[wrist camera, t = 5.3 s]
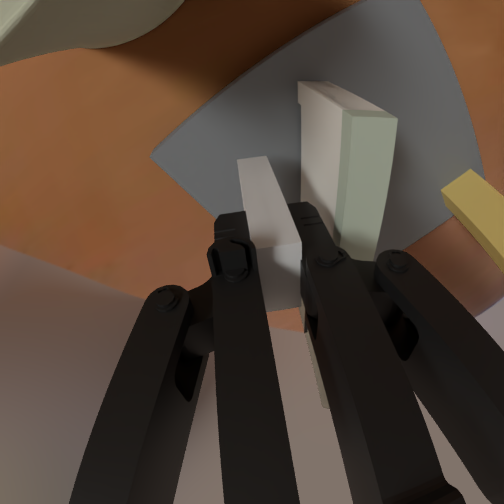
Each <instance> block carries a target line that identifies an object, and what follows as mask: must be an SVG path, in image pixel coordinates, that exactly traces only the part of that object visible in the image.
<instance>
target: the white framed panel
mask: <svg viewBox="0 0 504 504" xmlns="http://www.w3.org/2000/svg"><path fill="white" fill-rule="evenodd" d="M298 103H299V104H300V105H301V202H305V201H307V202H309V203H310V204H312V205H313V206H314V207H316V209H317V211H318V213H319V214H320V217H321V218H322V220H323V223H324V224H325V226H326V228H327V230H328V231H329V233H330V235H331V237H332V239H333V241H334V243H335V245H336V246H338V247H340V248H342V249H344V250H345V251H346V252H347V253H348V254H349V255H350V257H351V258H352V259H355V260H362V261H373V259H374V255H375V251H376V246H377V242H378V238H379V233H380V228H381V224H382V219H383V214H384V209H385V204H386V198H387V193H388V187H389V181H390V175H391V168H392V162H393V155H394V147H395V140H396V131H397V122H398V118H396V117H395V116H393V115H391V114H390V113H388V112H386V111H384V110H383V109H381V108H379V107H377V106H375V105H374V104H372V103H370V102H368V101H366V100H364V99H362V98H360V97H359V96H357V95H355V94H353V93H351V92H349V91H347V90H345V89H343V88H341V87H339V86H336V85H334V84H332V83H330V82H328V81H298Z"/></svg>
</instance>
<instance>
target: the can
mask: <svg viewBox="0 0 504 504" xmlns="http://www.w3.org/2000/svg"><path fill="white" fill-rule="evenodd" d="M184 1H185V0H0V66H3V65H6V64H9V63H13V62H16V61H20V60H23V59H27V58H31V57H35V56H39V55H43V54H47V53H52V52H57V51H62V50H68V49H74V48H106V47H111V46H116V45H119V44H123V43H126V42H129V41H131V40H134V39H136V38H138V37H140V36H142V35H144V34H146V33H148V32H149V31H151V30H152V29H154V28H156V27H157V26H158V25H160V24H161V23H162V22H164V21H165V20H166V19H167V18H169V17H170V16H171V15H172V14H173V13H174V12H175V11H176V10H177V9H178V8H179V7H180V6H181V4H182V3H183V2H184Z"/></svg>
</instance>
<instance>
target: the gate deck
mask: <svg viewBox="0 0 504 504" xmlns="http://www.w3.org/2000/svg"><path fill="white" fill-rule="evenodd" d="M298 81H328V82H330V83H332V84H334V85H336V86H339V87H341V88H343V89H345V90H347V91H349V92H351V93H353V94H355V95H357V96H359V97H360V98H362V99H364V100H366V101H368V102H370V103H372V104H374V105H375V106H377V107H379V108H381V109H383V110H384V111H386V112H388V113H390V114H391V115H393V116H395V117H396V118H398V122H397V131H396V140H395V147H394V155H393V162H392V168H391V175H390V181H389V187H388V193H387V198H386V204H385V209H384V214H383V219H382V224H381V228H380V233H379V238H378V242H377V246H376V251H375V255H374V259H373V261H375V262H376V259H377V257H378V255H379V254H380V253H382V252H383V251H386V250H390V249H394V250H401V251H402V250H404V249H405V248H407V247H408V246H410V245H411V244H413V243H414V242H416V241H417V240H419V239H420V238H422V237H423V236H425V235H426V234H428V233H429V232H431V231H432V230H434V229H435V228H436V227H438V226H439V225H441V224H442V223H444V222H445V221H446V220H448V219H449V218H451V217H452V216H453V215H455V216H456V217H457V219H458V220H459V221H460V222H461V223H462V224H463V225H464V226H465V227H466V229H467V230H468V231H469V232H470V233H471V234H472V235H473V236H474V238H475V239H476V240H477V241H478V242H479V244H480V245H481V246H482V247H483V248H484V250H485V251H486V252H487V253H488V254H489V256H490V257H491V258H492V259H493V261H494V262H495V263H496V265H497V266H498V267H499V268H500V270H501V271H502V272H503V274H504V196H502V195H501V194H500V193H499V192H498V191H497V190H496V189H495V188H493V187H492V186H491V185H490V184H489V183H488V182H486V181H485V176H484V171H483V166H482V161H481V157H480V152H479V148H478V144H477V140H476V136H475V133H474V129H473V125H472V122H471V118H470V115H469V112H468V109H467V106H466V103H465V100H464V97H463V94H462V91H461V88H460V85H459V83H458V80H457V77H456V75H455V72H454V70H453V67H452V65H451V62H450V60H449V58H448V55H447V53H446V51H445V49H444V46H443V44H442V42H441V40H440V38H439V36H438V34H437V32H436V30H435V28H434V26H433V24H432V22H431V20H430V18H429V16H428V14H427V12H426V11H425V9H424V7H423V5H422V3H421V2H420V0H361V1H359V2H357V3H355V4H353V5H351V6H349V7H347V8H345V9H343V10H342V11H340V12H338V13H336V14H334V15H332V16H331V17H329V18H327V19H325V20H324V21H322V22H320V23H318V24H317V25H315V26H313V27H312V28H310V29H308V30H307V31H305V32H303V33H302V34H300V35H299V36H297V37H295V38H294V39H292V40H291V41H289V42H288V43H286V44H284V45H283V46H281V47H280V48H278V49H277V50H275V51H274V52H272V53H271V54H270V55H268V56H267V57H265V58H264V59H262V60H261V61H259V62H258V63H257V64H255V65H254V66H252V67H251V68H250V69H248V70H247V71H246V72H244V73H243V74H242V75H240V76H239V77H238V78H236V79H235V80H234V81H232V82H231V83H230V84H228V85H227V86H226V87H225V88H223V89H222V90H221V91H220V92H218V93H217V94H216V95H215V96H213V97H212V98H211V99H210V100H208V101H207V102H206V103H205V104H204V105H202V106H201V107H200V108H199V109H198V110H196V111H195V112H194V113H193V114H192V115H191V116H189V117H188V118H187V119H186V120H185V121H184V122H183V123H182V124H180V125H179V126H178V127H177V128H176V129H175V130H174V131H173V132H172V133H170V134H169V135H168V136H167V137H166V138H165V139H164V140H163V141H162V142H161V143H160V144H159V145H158V146H157V147H155V148H154V150H153V151H152V153H151V155H150V158H151V159H152V160H153V161H154V162H155V163H156V164H157V165H159V166H160V167H161V168H162V169H163V170H164V171H165V172H166V173H167V174H168V175H169V176H170V177H171V178H173V179H174V180H175V181H176V182H177V183H178V184H179V185H180V186H181V187H182V188H183V189H184V190H185V191H187V192H188V193H189V194H190V195H191V196H192V197H193V198H194V199H195V200H196V201H197V202H198V203H200V204H201V205H202V206H203V207H204V208H205V209H206V210H207V211H208V212H209V213H210V214H211V215H212V216H214V217H215V218H216V219H217V218H218V216H219V215H220V214H226V213H233V212H240V211H244V207H243V200H242V192H241V185H240V178H239V171H238V164H237V160H238V159H245V158H252V157H260V156H267V158H268V161H269V163H270V165H271V168H272V170H273V173H274V175H275V177H276V180H277V182H278V184H279V187H280V189H281V192H282V194H283V197H284V199H285V201H286V204H290V203H297V202H301V105H300V104H299V103H298ZM299 311H300V315H301V319H302V323H303V327H304V321H305V307H304V304H303V301H302V297H301V307H299ZM305 336H306V339H307V344H308V348H309V352H310V356H311V360H312V364H313V368H314V373H315V377H316V381H317V385H318V390H319V394H320V399H321V404H322V406H323V407H324V408H327V409H330V408H329V404H328V400H327V396H326V393H325V389H324V385H323V381H322V378H321V374H320V371H319V367H318V363H317V360H316V356H315V353H314V349H313V345H312V342H311V338H310V335H309V331H308V332H307V333H305Z"/></svg>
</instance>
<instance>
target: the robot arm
mask: <svg viewBox="0 0 504 504" xmlns="http://www.w3.org/2000/svg"><path fill="white" fill-rule="evenodd" d="M237 164H238V171H239V178H240V185H241V192H242V200H243V207H244V211H240V212H233V213H226V214H220V215H219V216H218V218H217V219H216V221H215V222H214V239H215V242H214V243H213V244H212V245H211V246H210V247H209V248H208V252H207V258H208V262H209V266H210V270H211V274H212V277H211V278H210V279H209V280H208V281H207V282H205V283H204V284H203V285H201V286H199V287H197V288H194V289H192V290H189V291H187V290H185V289H184V288H183V287H181V286H177V285H166V286H163V287H160V288H158V289H156V290H155V291H153V292H152V293H151V294H150V295H149V296H148V298H147V299H146V300H145V303H144V305H143V307H142V309H141V311H140V314H139V316H138V318H137V320H136V323H135V325H134V327H133V329H132V332H131V334H130V336H129V338H128V341H127V343H126V345H125V348H124V350H123V352H122V355H121V357H120V359H119V362H118V364H117V367H116V369H115V372H114V374H113V377H112V379H111V381H110V384H109V387H108V389H107V392H106V394H105V397H104V399H103V402H102V405H101V407H100V410H99V413H98V416H97V418H96V421H95V424H94V427H93V429H92V432H91V435H90V438H89V441H88V444H87V447H86V449H85V452H84V455H83V459H82V462H81V465H80V468H79V471H78V474H77V478H76V481H75V484H74V488H73V491H72V495H71V498H70V501H69V504H173V501H174V497H175V493H176V488H177V484H178V479H179V475H180V471H181V467H182V463H183V459H184V454H185V450H186V446H187V442H188V437H189V434H190V429H191V425H192V421H193V417H194V413H195V409H196V405H197V401H198V397H199V393H200V389H201V385H202V381H203V376H204V373H205V369H206V365H207V361H208V357H209V353H210V352H212V351H214V355H215V378H216V397H217V414H218V429H219V445H220V458H221V470H222V482H223V493H224V503H225V504H300V501H299V495H298V490H297V485H296V478H295V472H294V467H293V461H292V456H291V450H290V444H289V438H288V433H287V427H286V421H285V416H284V410H283V404H282V400H281V393H280V388H279V382H278V376H277V371H276V365H275V359H274V354H273V348H272V342H271V337H270V331H269V326H268V320H267V314H266V312H271V311H277V310H284V309H290V308H296V307H301V297H302V301H303V304H304V307H305V321H304V333H307V332H308V331H309V335H310V338H311V342H312V345H313V349H314V353H315V356H316V360H317V363H318V367H319V371H320V374H321V378H322V381H323V385H324V389H325V393H326V396H327V400H328V404H329V408H330V411H331V414H332V419H333V423H334V427H335V431H336V434H337V438H338V442H339V446H340V450H341V454H342V458H343V462H344V466H345V471H346V475H347V479H348V483H349V487H350V491H351V496H352V500H353V504H466V503H465V500H464V498H463V496H462V494H461V493H460V492H459V491H458V489H456V488H455V487H453V486H452V485H450V484H448V482H447V481H446V480H445V478H444V476H443V473H442V469H441V466H440V463H439V460H438V457H437V454H436V452H435V448H434V445H433V442H432V440H431V437H430V434H429V431H428V428H427V426H426V423H425V420H424V417H423V415H422V412H421V410H420V407H419V405H418V402H417V399H416V397H415V394H416V395H417V397H418V398H419V399H420V401H421V402H422V404H423V405H424V406H425V408H426V409H427V411H428V412H429V414H430V415H431V416H432V418H433V419H434V421H435V422H436V424H437V425H438V426H439V428H440V429H441V431H442V432H443V434H444V435H445V437H446V438H447V440H448V441H449V443H450V444H451V446H452V447H453V449H454V450H455V452H456V453H457V455H458V456H459V458H460V459H461V460H462V462H463V464H464V465H465V467H466V468H467V470H468V471H469V473H470V475H471V476H472V478H473V479H474V481H475V482H476V484H477V486H478V487H479V489H480V490H481V491H482V493H483V494H484V496H485V497H486V498H487V499H488V500H489V501H490V502H491V503H492V504H504V351H503V350H502V349H501V348H500V346H499V345H498V344H497V343H496V342H495V341H494V340H493V338H492V337H491V336H490V335H489V334H488V333H487V331H486V330H485V329H484V328H483V327H482V326H481V325H480V324H479V323H478V322H477V320H476V319H475V318H474V317H473V316H472V315H471V314H470V313H469V312H468V311H467V310H466V309H465V308H464V307H463V305H462V304H461V303H460V302H459V301H458V300H457V299H456V298H455V297H454V296H453V295H452V294H451V293H450V292H449V291H448V290H447V289H446V288H445V287H444V286H443V285H442V284H441V283H440V282H439V281H438V280H437V279H436V278H435V277H434V276H433V275H432V274H431V273H430V272H429V271H427V270H426V269H425V268H424V267H423V266H422V265H421V264H420V263H419V262H418V261H417V260H416V259H415V258H414V257H412V256H411V255H410V254H408V253H407V252H404V251H401V250H394V249H390V250H386V251H383V252H382V253H380V254H379V255H378V257H377V259H376V262H375V261H362V260H355V259H352V258H351V257H350V255H349V254H348V253H347V252H346V251H345V250H344V249H342V248H340V247H338V246H336V245H335V243H334V241H333V239H332V237H331V235H330V233H329V231H328V230H327V228H326V226H325V224H324V223H323V220H322V218H321V217H320V214H319V213H318V211H317V209H316V207H314V206H313V205H312V204H310V203H309V202H307V201H305V202H297V203H290V204H286V201H285V199H284V197H283V194H282V192H281V189H280V187H279V184H278V182H277V180H276V177H275V175H274V173H273V170H272V168H271V165H270V163H269V161H268V158H267V156H260V157H252V158H245V159H238V160H237ZM413 391H414V392H415V394H414V392H413Z"/></svg>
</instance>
